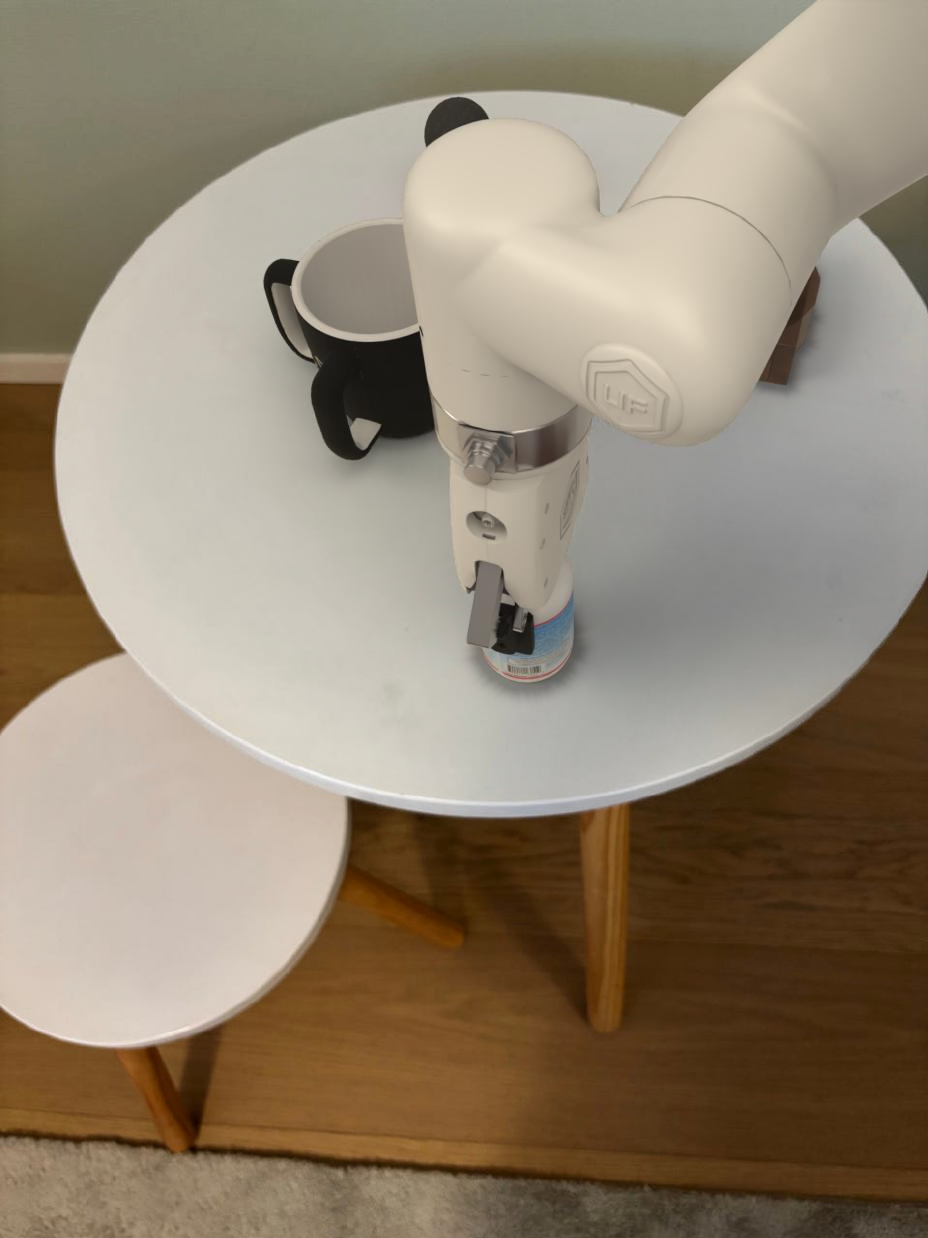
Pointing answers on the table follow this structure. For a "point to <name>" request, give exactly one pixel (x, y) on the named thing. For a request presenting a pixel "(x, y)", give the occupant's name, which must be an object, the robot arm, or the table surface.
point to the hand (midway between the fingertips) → (524, 597)
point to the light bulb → (451, 117)
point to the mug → (356, 334)
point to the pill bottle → (543, 635)
